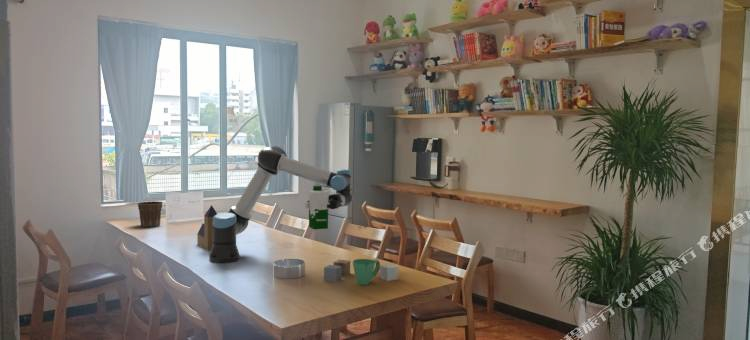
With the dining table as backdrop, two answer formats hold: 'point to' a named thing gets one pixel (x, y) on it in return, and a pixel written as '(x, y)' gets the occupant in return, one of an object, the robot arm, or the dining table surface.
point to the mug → (365, 270)
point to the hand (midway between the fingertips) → (314, 206)
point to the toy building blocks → (206, 230)
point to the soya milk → (318, 208)
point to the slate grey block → (332, 273)
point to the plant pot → (150, 213)
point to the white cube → (389, 272)
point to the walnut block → (343, 266)
